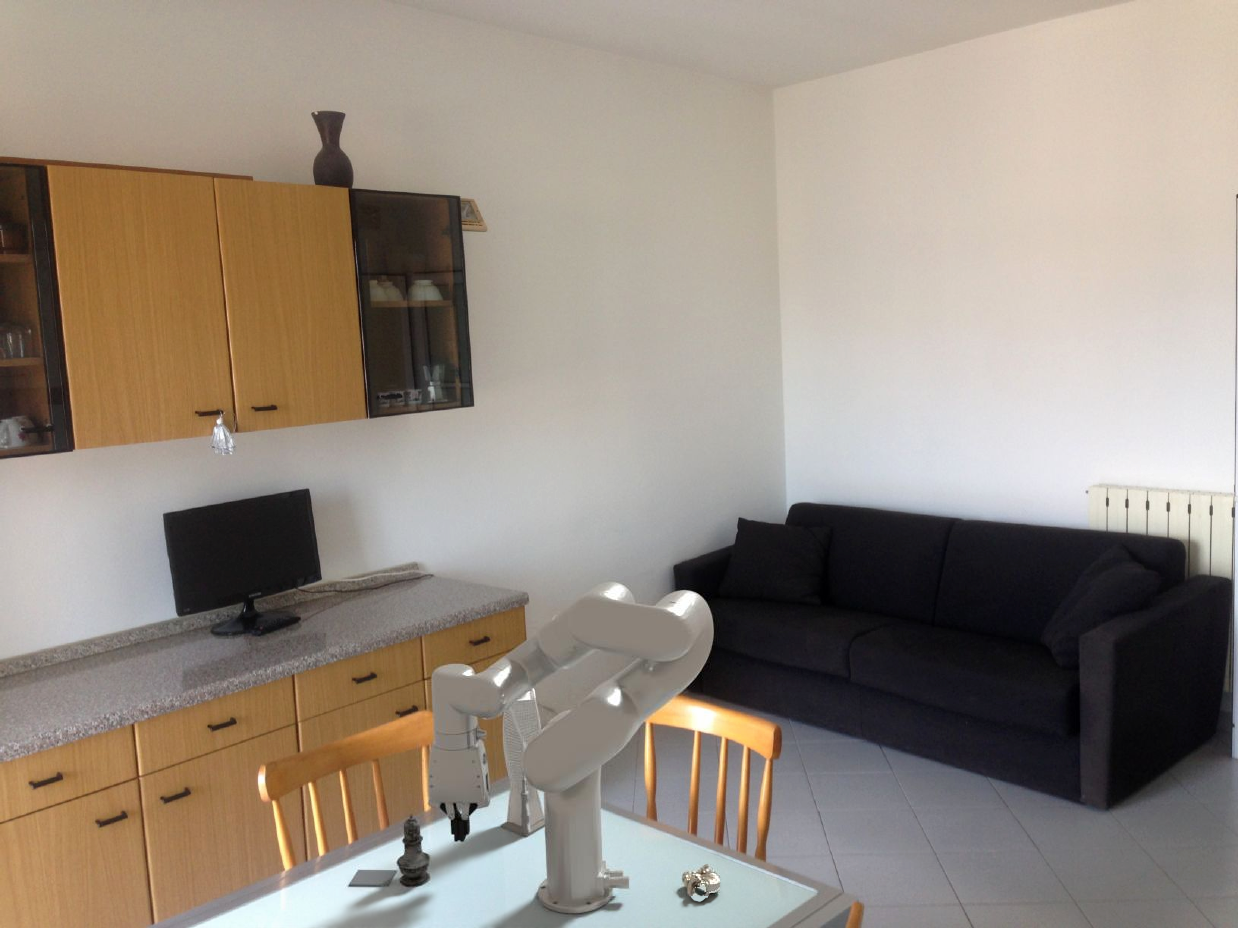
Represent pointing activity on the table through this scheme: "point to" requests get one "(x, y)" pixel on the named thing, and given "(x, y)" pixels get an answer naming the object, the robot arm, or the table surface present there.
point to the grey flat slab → (373, 878)
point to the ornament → (701, 880)
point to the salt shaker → (413, 856)
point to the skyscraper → (523, 797)
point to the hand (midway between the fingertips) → (460, 837)
